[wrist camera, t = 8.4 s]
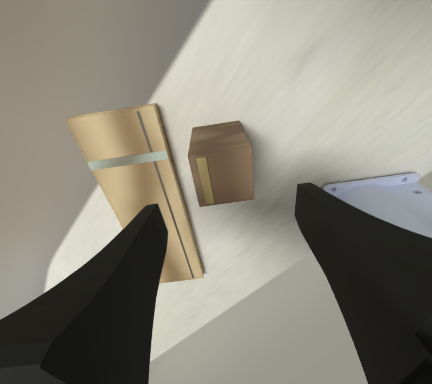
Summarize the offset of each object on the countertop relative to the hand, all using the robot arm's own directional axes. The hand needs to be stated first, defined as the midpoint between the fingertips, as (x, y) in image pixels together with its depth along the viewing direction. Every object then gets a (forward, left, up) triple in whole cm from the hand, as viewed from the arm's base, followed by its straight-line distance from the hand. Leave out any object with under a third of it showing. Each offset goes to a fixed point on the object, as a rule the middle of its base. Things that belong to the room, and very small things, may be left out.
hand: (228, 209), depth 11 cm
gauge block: (0, 0, -10) cm, 10 cm away
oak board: (+8, +7, -9) cm, 14 cm away
